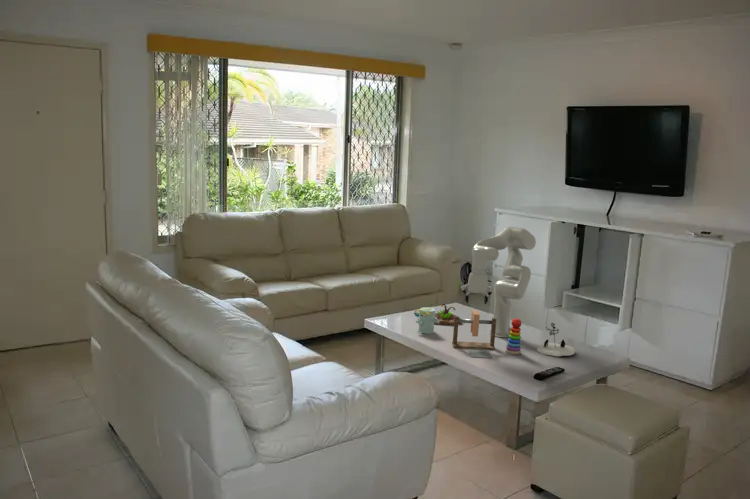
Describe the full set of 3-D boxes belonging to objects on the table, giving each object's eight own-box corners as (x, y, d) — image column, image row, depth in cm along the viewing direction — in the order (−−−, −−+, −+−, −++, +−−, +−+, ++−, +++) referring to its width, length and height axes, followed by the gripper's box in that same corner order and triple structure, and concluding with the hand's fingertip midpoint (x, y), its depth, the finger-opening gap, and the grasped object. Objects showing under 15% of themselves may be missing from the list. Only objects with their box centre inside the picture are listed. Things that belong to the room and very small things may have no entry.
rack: (492, 345, 346) (494, 316, 343) (494, 350, 338) (497, 320, 335) (452, 343, 346) (454, 314, 344) (453, 347, 338) (455, 318, 336)
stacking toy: (511, 356, 330) (515, 321, 327) (502, 351, 337) (505, 317, 334) (523, 354, 333) (526, 319, 330) (513, 349, 340) (516, 315, 337)
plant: (425, 316, 398) (426, 299, 396) (456, 317, 400) (457, 299, 398) (431, 325, 378) (433, 307, 376) (464, 326, 380) (465, 308, 378)
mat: (489, 351, 336) (489, 350, 336) (492, 358, 325) (492, 357, 325) (468, 350, 336) (468, 349, 336) (470, 357, 325) (470, 356, 325)
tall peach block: (475, 332, 345) (477, 310, 343) (478, 336, 337) (479, 314, 335) (470, 331, 345) (472, 310, 343) (472, 336, 337) (474, 314, 335)
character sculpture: (405, 329, 368) (406, 306, 365) (418, 326, 375) (420, 304, 373) (430, 338, 353) (432, 314, 351) (444, 334, 361) (445, 311, 359)
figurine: (578, 349, 343) (578, 320, 341) (570, 359, 328) (570, 328, 326) (542, 345, 353) (541, 316, 351) (532, 354, 338) (532, 324, 336)
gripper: (494, 271, 339) (491, 302, 341) (461, 269, 339) (459, 300, 341) (496, 273, 331) (493, 305, 334) (463, 271, 331) (460, 303, 334)
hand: (476, 302), depth 338 cm, fingers open, 9 cm apart
